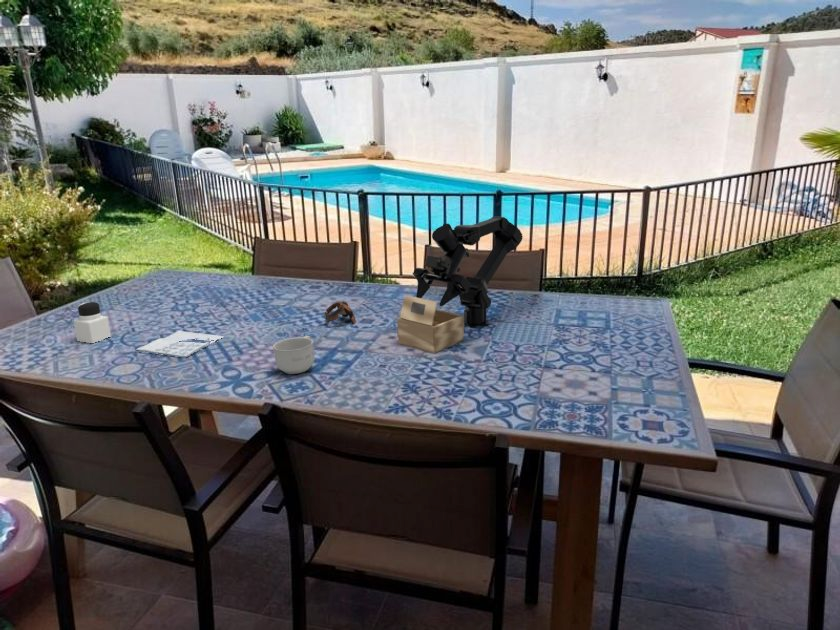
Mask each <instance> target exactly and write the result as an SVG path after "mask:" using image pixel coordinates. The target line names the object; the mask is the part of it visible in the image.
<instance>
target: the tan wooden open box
mask: <svg viewBox="0 0 840 630" xmlns="http://www.w3.org/2000/svg"><path fill="white" fill-rule="evenodd" d="M396 326H397V327H396V328H397V329H396V330H397V338H398V345H399V344H400V345H403V346H406V347H410V348H414V349H417V350H420V351H423V352H427V353H430V354H436V353H438V352H440V351H443V350H445V349H447V348H449V347H453V346H455V345H457V344H459V343H461V342H463V341H464V335H465V334H464V333H465V332H464V331H465V329H464V328H465V327H464V326H465V323H464V314H463V315H462V314H458V313H453V312H449V311H445V310H441V309H437V308H436V310H435V315H434V320H433V324H432V326H431V325H427V324H423V323H419V322H415V321H411V320H407V319H403V318H400V316H399V317H397V318H396Z"/></svg>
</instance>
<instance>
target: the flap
mask: <svg viewBox="0 0 840 630" xmlns="http://www.w3.org/2000/svg"><path fill="white" fill-rule="evenodd" d="M437 305H438V301H434V300H430V299H426V298H417V297H416V296H412V295H407V294H404V297H403V301H402V307H401V310H400V311H401V312H400V316H399V317H400V318H403V319H407V320H411V321H415V322H419V323H423V324H427V325H431V326H432V324H433V320H434V315H435V310H436V309H437Z"/></svg>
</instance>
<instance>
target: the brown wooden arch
mask: <svg viewBox="0 0 840 630" xmlns="http://www.w3.org/2000/svg"><path fill="white" fill-rule="evenodd" d="M334 309H336V310H334ZM333 310H334V311H333ZM332 311H333V312H332ZM323 315H324V316H325V322H326V323H328V324H329V323H331V322H333V321H335V320H336V321H339V315H340V316H341V317H342V318H349V320H350V321H351V322H352V324H353V325H355V324H356V316H355V314H354V311H353V310H352V308H351V307H350V306H349V304H348V303H347V302H346V301H345V300H344V301H337V302H334V303H332V304H330V305H329V306H328V307H327V308H326V309H325V312H324V313H323Z"/></svg>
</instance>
